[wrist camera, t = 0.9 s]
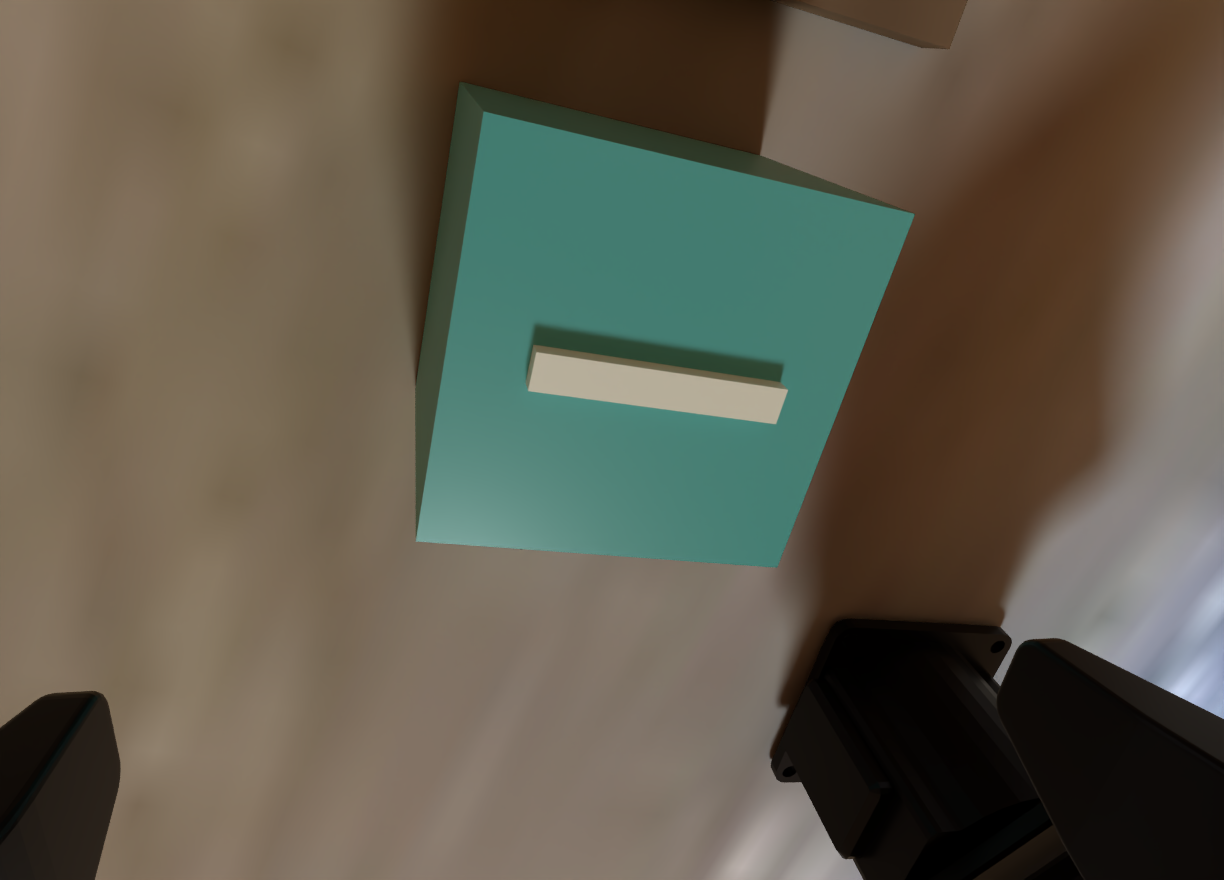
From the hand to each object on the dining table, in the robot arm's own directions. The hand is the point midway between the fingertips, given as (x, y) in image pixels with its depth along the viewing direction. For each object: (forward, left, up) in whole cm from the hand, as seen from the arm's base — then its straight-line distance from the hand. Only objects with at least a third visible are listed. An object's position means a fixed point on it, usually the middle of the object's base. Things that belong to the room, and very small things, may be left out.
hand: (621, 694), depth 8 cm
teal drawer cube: (-1, -1, -11) cm, 11 cm away
